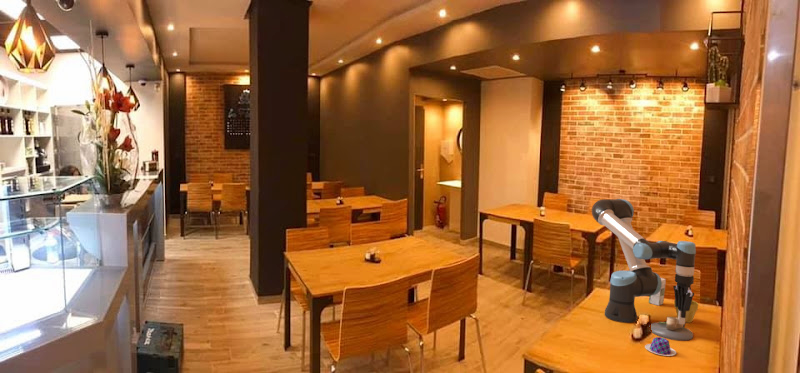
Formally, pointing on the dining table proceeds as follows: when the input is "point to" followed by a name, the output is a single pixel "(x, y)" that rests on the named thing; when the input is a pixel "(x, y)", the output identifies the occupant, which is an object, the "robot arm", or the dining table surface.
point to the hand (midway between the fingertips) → (681, 323)
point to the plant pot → (689, 313)
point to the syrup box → (658, 295)
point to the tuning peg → (673, 323)
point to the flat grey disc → (671, 332)
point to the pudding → (660, 347)
